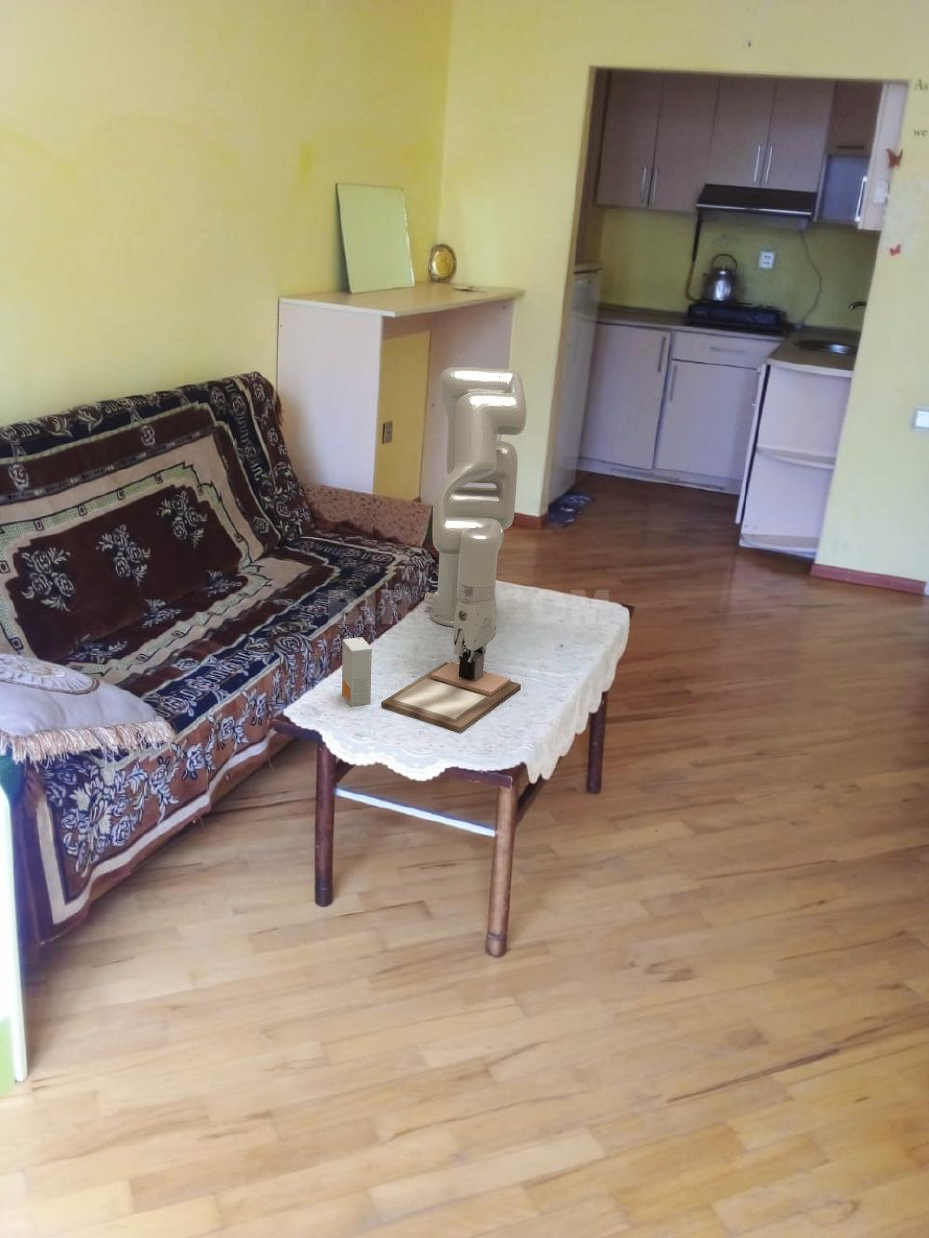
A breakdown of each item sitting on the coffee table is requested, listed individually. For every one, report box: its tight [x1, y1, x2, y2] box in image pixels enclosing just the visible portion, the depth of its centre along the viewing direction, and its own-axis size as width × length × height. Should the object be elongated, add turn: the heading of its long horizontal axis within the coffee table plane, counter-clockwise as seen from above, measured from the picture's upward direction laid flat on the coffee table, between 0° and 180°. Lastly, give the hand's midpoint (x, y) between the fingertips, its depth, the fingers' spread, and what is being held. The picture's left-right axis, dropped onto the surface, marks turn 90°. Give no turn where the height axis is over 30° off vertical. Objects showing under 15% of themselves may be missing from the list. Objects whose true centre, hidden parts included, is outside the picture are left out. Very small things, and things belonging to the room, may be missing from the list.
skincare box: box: [341, 636, 373, 707], centre depth 215 cm, size 6×4×12 cm
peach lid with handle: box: [431, 650, 511, 696], centre depth 224 cm, size 14×8×6 cm, turn 59°
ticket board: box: [380, 661, 522, 734], centre depth 220 cm, size 18×24×2 cm
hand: (470, 674), depth 225 cm, fingers closed on peach lid with handle, 3 cm apart
